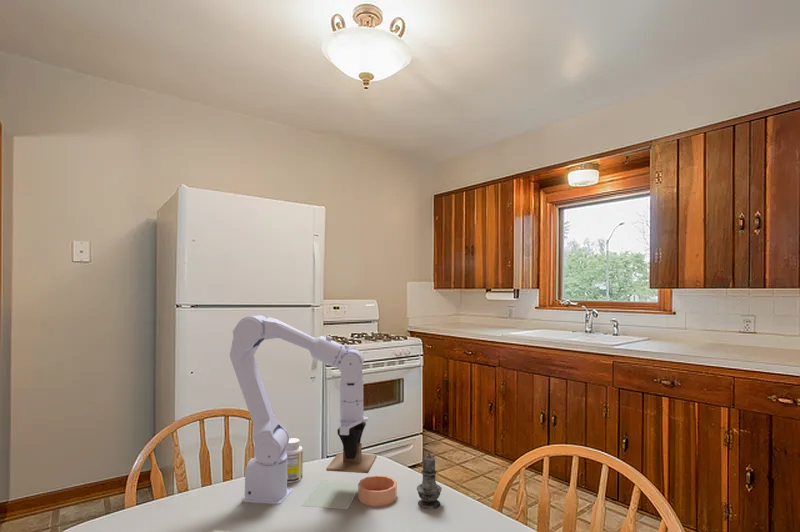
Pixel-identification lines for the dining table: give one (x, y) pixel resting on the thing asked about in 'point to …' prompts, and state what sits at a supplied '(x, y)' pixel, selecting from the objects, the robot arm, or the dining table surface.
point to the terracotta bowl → (377, 490)
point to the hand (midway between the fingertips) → (352, 455)
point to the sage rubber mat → (332, 494)
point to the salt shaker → (429, 485)
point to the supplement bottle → (294, 460)
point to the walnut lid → (352, 462)
